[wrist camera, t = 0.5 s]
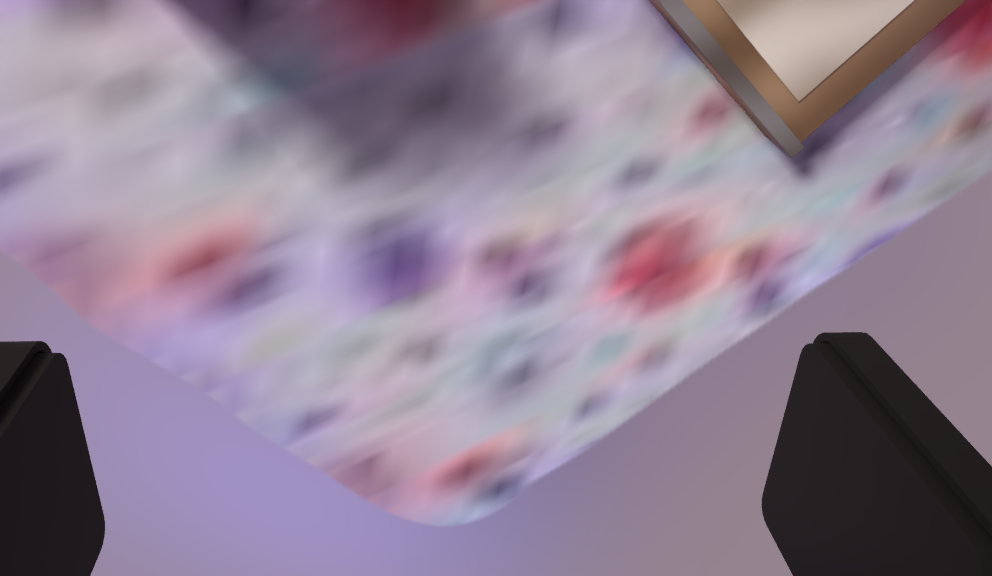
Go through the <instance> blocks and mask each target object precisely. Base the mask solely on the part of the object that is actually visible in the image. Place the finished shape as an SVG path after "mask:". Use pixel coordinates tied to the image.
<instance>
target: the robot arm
mask: <svg viewBox="0 0 992 576" xmlns="http://www.w3.org/2000/svg"><path fill="white" fill-rule="evenodd" d="M762 511H763V516H764V520H765V522H766V525H767V527H768V528H769V531H770V533H771V534H772V536H773V538H774V540H775V542H776V544H777V546H778V548H779V550H780V552H781V553H782V555H783V557H784V559H785V561H786V563H787V565H788V567H789V569H790V571H791V573H792V574H793V576H992V467H991V465H990V464H989V463H988V462H987V461H986V460H985V459H984V458H983V457H982V456H981V455H980V454H979V452H978V451H977V450H976V449H975V448H974V447H973V446H972V445H971V444H970V443H969V442H968V441H967V440H966V438H964V437H963V435H962V434H961V433H960V432H959V431H958V430H957V429H956V428H955V427H954V426H953V425H952V423H951V422H950V421H949V420H948V419H947V418H946V417H945V416H944V415H943V414H942V413H941V411H940V410H939V409H938V408H937V407H936V406H935V405H934V404H933V403H932V402H931V401H930V400H929V399H928V397H927V396H925V394H924V393H923V392H922V391H921V390H920V389H919V388H918V387H917V386H916V384H915V383H913V381H912V380H911V379H910V378H909V377H908V376H907V375H906V374H905V373H904V372H903V370H901V369H900V367H899V366H898V365H897V364H896V363H895V362H894V361H893V360H892V359H891V357H890V356H888V354H887V353H886V352H885V351H884V350H883V349H882V348H881V347H880V346H879V345H878V344H877V342H876V341H875V340H874V339H873V338H872V337H871V336H869V335H868V334H867V333H862V332H843V333H822V334H819V335H818V336H817V337H816V339H815V340H814V342H813V344H807V345H805V346H804V348H803V349H802V352H801V354H800V358H799V361H798V365H797V369H796V373H795V376H794V380H793V384H792V388H791V391H790V395H789V399H788V403H787V406H786V410H785V413H784V417H783V421H782V425H781V428H780V432H779V436H778V440H777V443H776V447H775V451H774V455H773V458H772V462H771V466H770V469H769V473H768V477H767V481H766V484H765V488H764V492H763V497H762ZM104 533H105V520H104V515H103V510H102V506H101V502H100V498H99V494H98V489H97V485H96V481H95V477H94V472H93V468H92V464H91V460H90V455H89V451H88V447H87V443H86V438H85V434H84V430H83V426H82V422H81V417H80V413H79V409H78V405H77V400H76V396H75V392H74V388H73V384H72V380H71V375H70V371H69V367H68V363H67V361H66V358H65V357H64V355H62V354H61V353H52V352H51V349H50V348H49V346H48V345H47V344H46V343H44V342H42V341H27V342H26V341H22V342H0V576H90V575H91V572H92V570H93V568H94V565H95V563H96V560H97V558H98V555H99V553H100V551H101V548H102V545H103V540H104Z"/></svg>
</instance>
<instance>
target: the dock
mask: <svg viewBox="0 0 992 576" xmlns="http://www.w3.org/2000/svg"><path fill="white" fill-rule="evenodd" d="M650 1H651V3H652V4H653V5H654V6H655V7H656V8H657V10H658V11H659V12H660V13H661V14H662V15H663V17H664V18H665V19H666V20H667V21H668V22H669V24H670V25H671V26H672V27H673V28H674V30H675V31H676V32H677V33H678V34H679V35H680V37H681V38H682V39H683V40H684V41H685V42H686V44H687V45H688V46H689V47H690V48H691V49H692V51H693V52H694V53H695V54H696V55H697V56H698V58H699V59H700V60H701V61H702V62H703V63H704V65H705V66H706V67H707V68H708V69H709V70H710V72H711V73H712V74H713V75H714V76H715V77H716V79H717V80H718V81H719V82H720V83H721V84H722V86H723V87H724V88H725V89H726V90H727V91H728V93H729V94H730V95H731V96H732V97H733V98H734V100H735V101H736V102H737V103H738V104H739V105H740V107H741V108H742V109H743V110H744V111H745V112H746V114H747V115H748V116H749V117H750V118H751V119H752V121H753V122H754V123H755V124H756V125H757V126H758V128H759V129H760V130H761V131H762V132H763V133H764V135H765V136H766V137H768V138H769V139H770V140H771V141H772V142H774V143H775V144H776V145H777V146H778V147H779V148H781V149H782V150H783V151H784V152H785V153H787V154H788V155H789V156H790V157H791V158H793V157H794V156H795V155H796V154H797V153H799V152H800V151H801V150H802V149H803V148H804V146H803V145H802V143H801V142H802V141H803V140H804V139H805V138H807V137H808V136H809V135H810V134H811V133H812V132H814V131H815V130H816V129H817V128H818V127H819V126H821V125H822V124H823V123H824V122H825V121H826V120H828V119H829V118H830V117H831V116H832V115H833V114H834V113H836V112H837V111H838V110H839V109H840V108H841V107H843V106H844V105H845V104H846V103H847V102H848V101H850V100H851V99H852V98H853V97H854V96H855V95H857V94H858V93H859V92H860V91H861V90H862V89H863V88H865V87H866V86H867V85H868V84H869V83H870V82H872V81H873V80H874V79H875V78H876V77H877V76H879V75H880V74H881V73H882V72H883V71H884V70H886V69H887V68H888V67H889V66H890V65H891V64H892V63H894V62H895V61H896V60H897V59H898V58H899V57H901V56H902V55H903V54H904V53H905V52H906V51H908V50H909V49H910V48H911V47H912V46H913V45H915V44H916V43H917V42H918V41H919V40H920V39H921V38H923V37H924V36H925V35H926V34H927V33H928V32H930V31H931V30H932V29H933V28H934V27H935V26H937V25H938V24H939V23H940V22H941V21H942V20H944V19H945V18H946V17H947V16H948V15H949V14H950V13H952V12H953V11H954V10H955V9H956V8H957V7H959V6H960V5H961V4H962V3H963V2H964V1H966V0H650Z"/></svg>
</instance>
